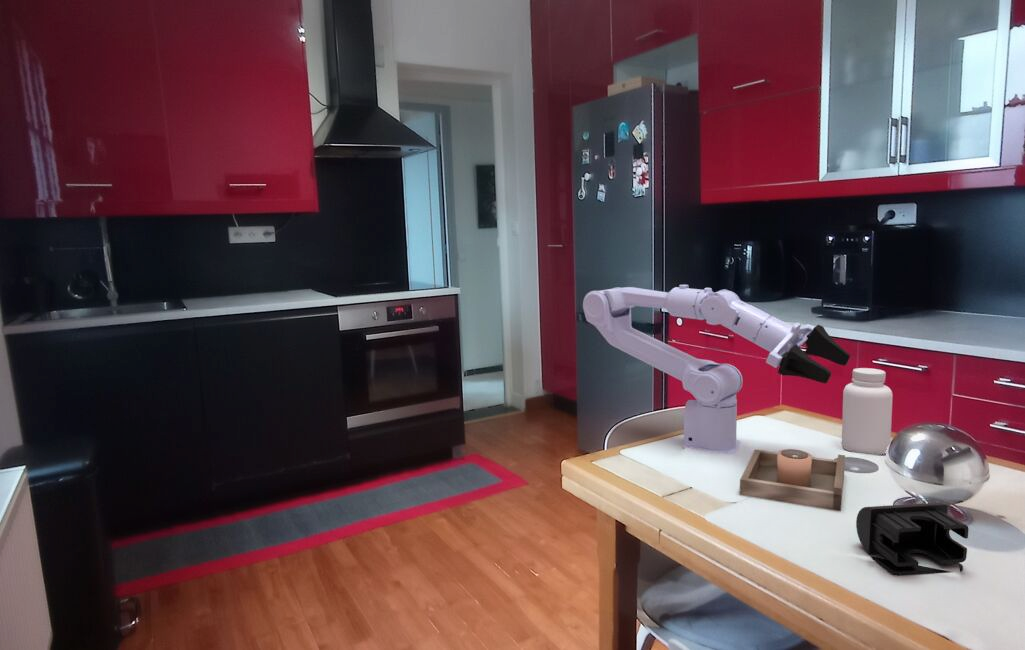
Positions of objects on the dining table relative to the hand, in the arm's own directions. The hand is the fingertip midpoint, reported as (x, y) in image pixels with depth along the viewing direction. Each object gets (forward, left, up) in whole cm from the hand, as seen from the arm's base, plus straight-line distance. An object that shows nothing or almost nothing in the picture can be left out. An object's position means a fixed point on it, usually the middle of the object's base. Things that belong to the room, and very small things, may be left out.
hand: (838, 369), depth 105 cm
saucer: (+3, +3, -18) cm, 19 cm away
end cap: (+9, -27, -18) cm, 34 cm away
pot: (-6, -10, -17) cm, 21 cm away
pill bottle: (+4, +15, -18) cm, 24 cm away
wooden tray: (-6, -10, -18) cm, 21 cm away
